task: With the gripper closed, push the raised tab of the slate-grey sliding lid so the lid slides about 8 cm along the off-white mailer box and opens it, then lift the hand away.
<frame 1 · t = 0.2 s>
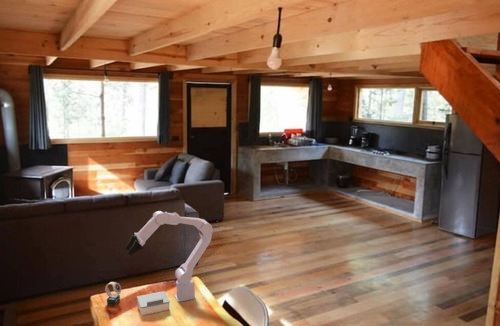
hand: (128, 251, 206), 31 cm above the table, tool tilted 45°, fingers open, 7 cm apart
watch: (113, 302, 218), on the table
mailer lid: (153, 297, 212), point 5 cm above the table, slide at 0.0 cm
mailer box: (153, 307, 213), on the table
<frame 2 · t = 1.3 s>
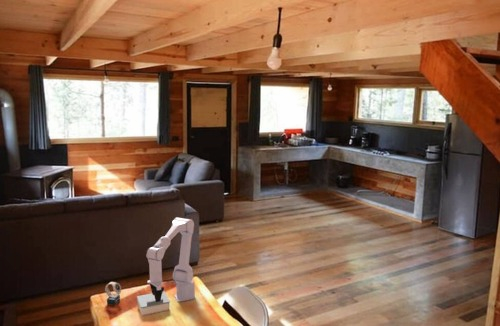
hand: (156, 297, 201), 11 cm above the table, tool pointing down, fingers open, 7 cm apart
nothing on the table moved.
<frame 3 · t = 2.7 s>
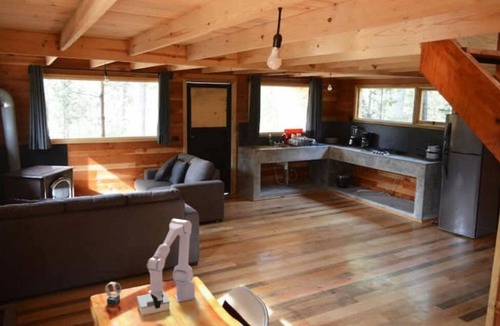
hand: (157, 307, 202), 5 cm above the table, tool pointing down, fingers closed
nothing on the table moved.
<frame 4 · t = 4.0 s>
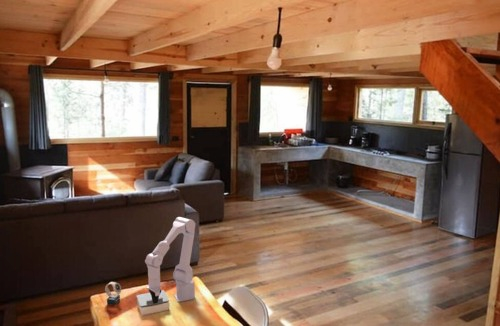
hand: (155, 302, 207), 5 cm above the table, tool pointing down, fingers closed
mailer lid: (152, 296, 213), point 5 cm above the table, slide at 1.3 cm, touching gripper
everything else where it was.
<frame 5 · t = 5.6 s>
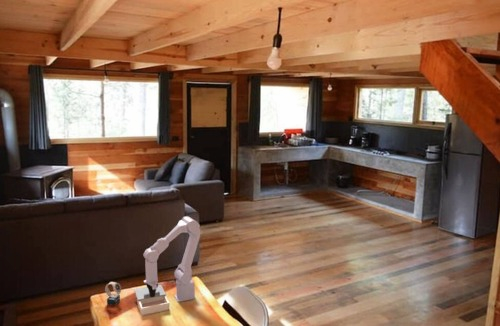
hand: (152, 296, 213), 5 cm above the table, tool pointing down, fingers closed
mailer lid: (149, 290, 219), point 5 cm above the table, slide at 8.4 cm, touching gripper
everything else where it was.
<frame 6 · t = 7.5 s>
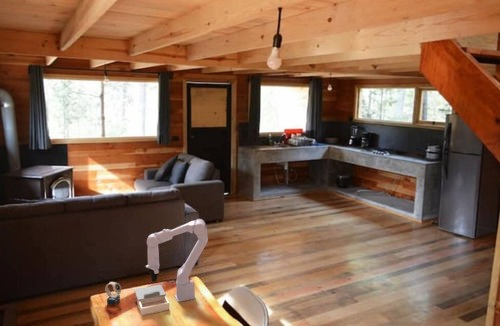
hand: (154, 281, 219), 10 cm above the table, tool pointing down, fingers closed
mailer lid: (149, 290, 219), point 5 cm above the table, slide at 8.5 cm
everything else where it was.
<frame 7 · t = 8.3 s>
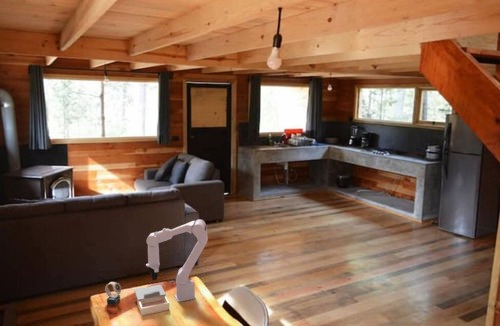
hand: (154, 279, 221), 10 cm above the table, tool pointing down, fingers closed
nothing on the table moved.
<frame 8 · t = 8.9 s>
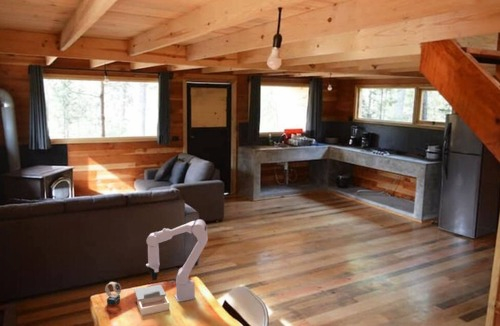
hand: (154, 279, 221), 10 cm above the table, tool pointing down, fingers closed
nothing on the table moved.
at the end: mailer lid slide at 8.5 cm; watch moved 0.2 cm from its start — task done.
